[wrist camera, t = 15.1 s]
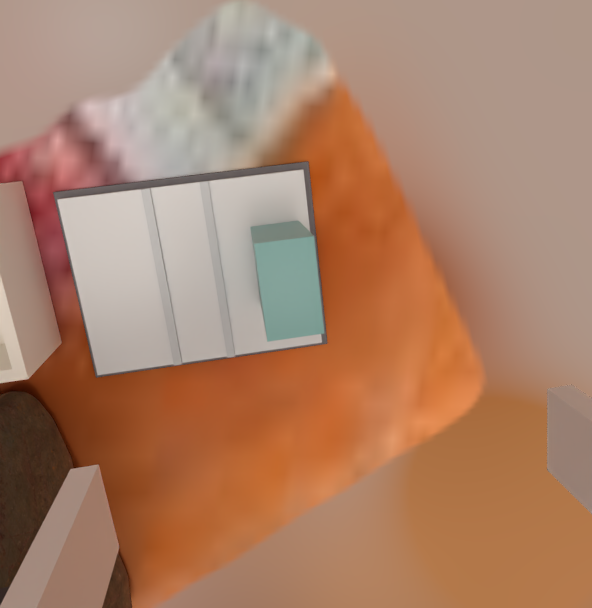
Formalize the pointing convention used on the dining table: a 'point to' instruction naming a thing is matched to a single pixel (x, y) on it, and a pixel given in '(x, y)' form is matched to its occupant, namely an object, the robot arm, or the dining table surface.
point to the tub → (22, 291)
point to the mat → (190, 180)
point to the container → (35, 486)
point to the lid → (195, 270)
